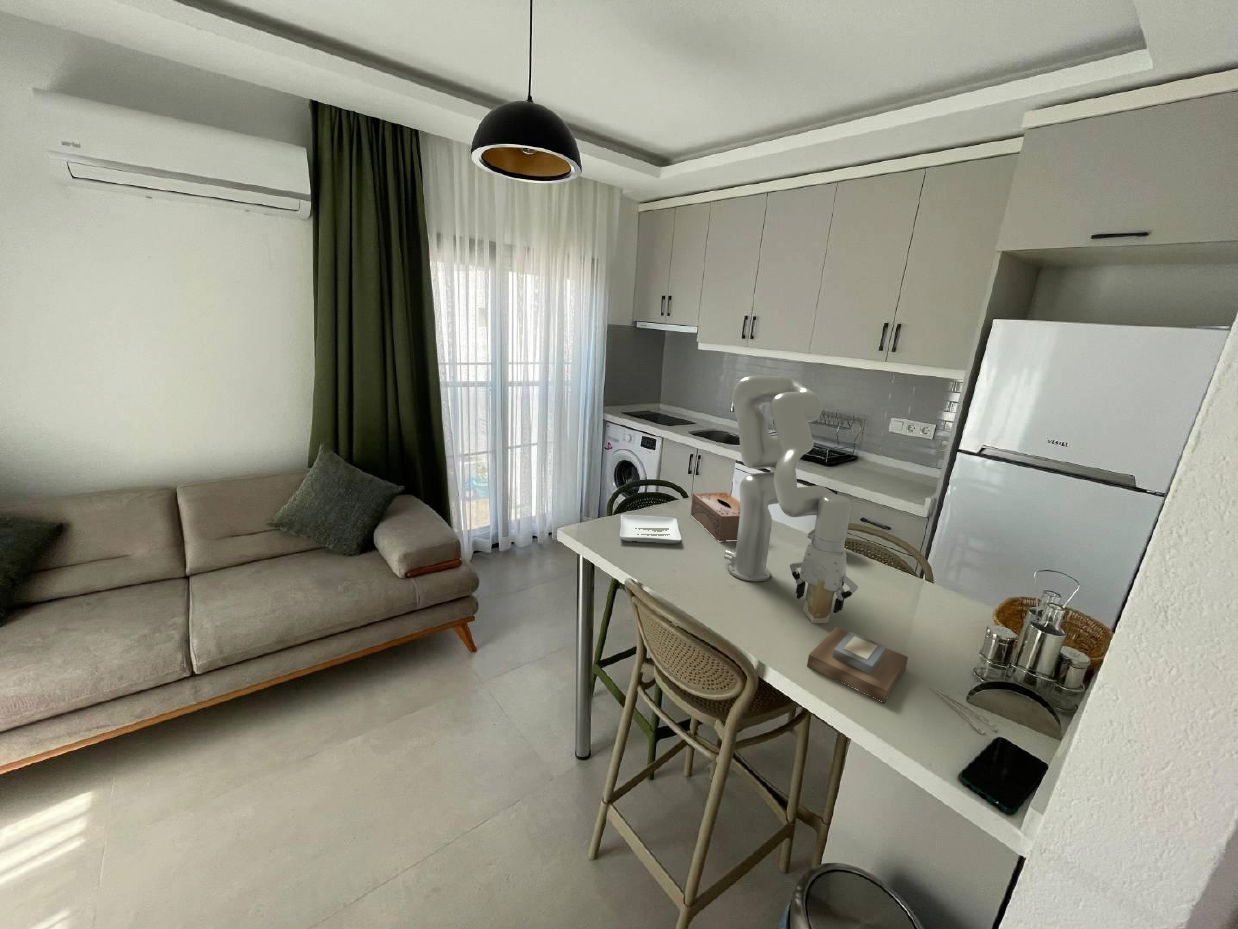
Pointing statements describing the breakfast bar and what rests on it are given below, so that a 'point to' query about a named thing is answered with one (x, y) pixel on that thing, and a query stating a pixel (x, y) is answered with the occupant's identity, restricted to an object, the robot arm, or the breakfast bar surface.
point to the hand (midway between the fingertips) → (818, 604)
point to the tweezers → (967, 711)
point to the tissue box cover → (717, 514)
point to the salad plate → (640, 521)
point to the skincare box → (818, 603)
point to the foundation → (858, 663)
